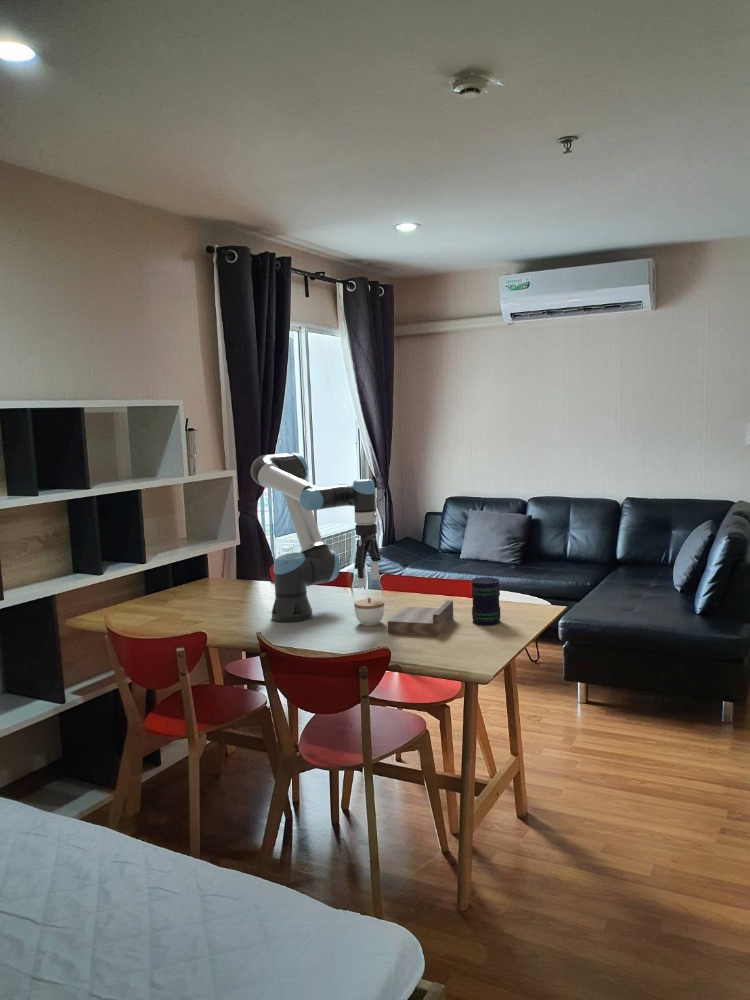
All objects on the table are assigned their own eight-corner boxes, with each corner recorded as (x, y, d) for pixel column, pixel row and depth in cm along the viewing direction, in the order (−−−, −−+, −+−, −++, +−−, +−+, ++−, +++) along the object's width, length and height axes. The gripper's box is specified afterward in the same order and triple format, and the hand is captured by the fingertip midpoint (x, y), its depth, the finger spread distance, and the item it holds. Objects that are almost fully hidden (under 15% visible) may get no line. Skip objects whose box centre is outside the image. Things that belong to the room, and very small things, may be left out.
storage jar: (471, 626, 265) (470, 583, 263) (472, 618, 275) (471, 577, 273) (501, 626, 264) (500, 583, 262) (500, 618, 273) (499, 577, 272)
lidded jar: (382, 627, 268) (380, 601, 267) (352, 627, 270) (350, 601, 269) (387, 619, 278) (386, 594, 277) (358, 619, 280) (357, 594, 279)
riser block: (388, 632, 261) (387, 612, 261) (405, 617, 280) (404, 598, 279) (439, 635, 255) (438, 614, 255) (453, 619, 274) (452, 600, 273)
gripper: (363, 528, 257) (366, 591, 259) (387, 518, 281) (390, 576, 283) (342, 528, 260) (346, 590, 262) (367, 518, 283) (370, 575, 285)
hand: (368, 583), depth 272 cm, fingers open, 13 cm apart
